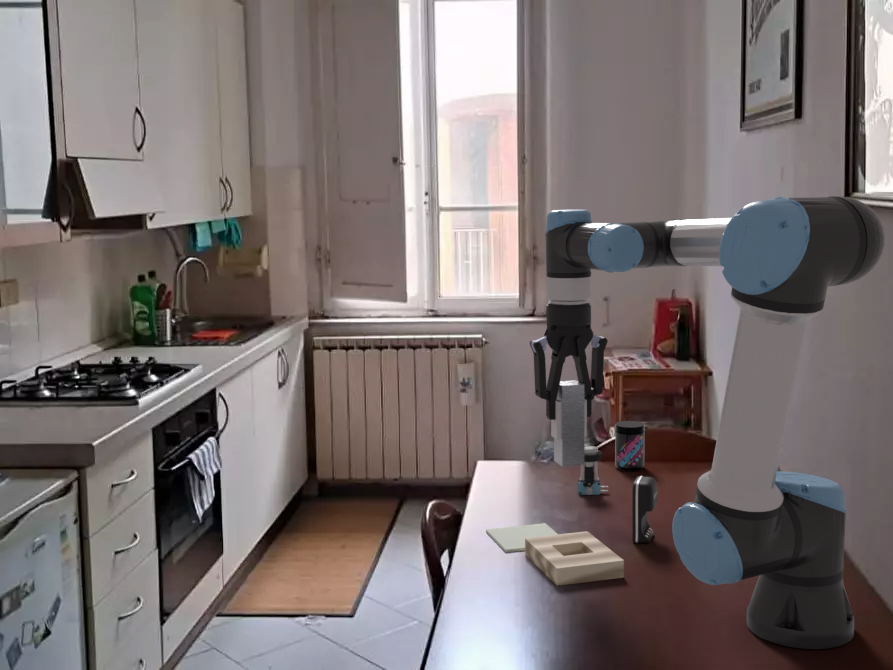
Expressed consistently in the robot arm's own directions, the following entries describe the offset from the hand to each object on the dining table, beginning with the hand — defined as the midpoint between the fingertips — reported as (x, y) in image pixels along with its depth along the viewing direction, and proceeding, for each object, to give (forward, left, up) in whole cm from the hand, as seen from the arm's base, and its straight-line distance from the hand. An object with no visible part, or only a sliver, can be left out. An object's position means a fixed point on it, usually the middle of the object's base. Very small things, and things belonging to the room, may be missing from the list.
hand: (568, 436), depth 185 cm
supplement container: (+54, -36, -23) cm, 69 cm away
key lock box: (+8, -18, -23) cm, 30 cm away
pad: (+15, +3, -23) cm, 27 cm away
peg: (0, 0, -5) cm, 5 cm away
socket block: (-1, 0, -23) cm, 23 cm away
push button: (+38, -20, -23) cm, 49 cm away
